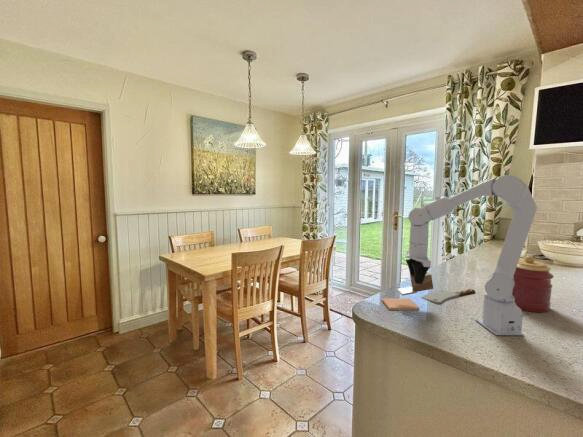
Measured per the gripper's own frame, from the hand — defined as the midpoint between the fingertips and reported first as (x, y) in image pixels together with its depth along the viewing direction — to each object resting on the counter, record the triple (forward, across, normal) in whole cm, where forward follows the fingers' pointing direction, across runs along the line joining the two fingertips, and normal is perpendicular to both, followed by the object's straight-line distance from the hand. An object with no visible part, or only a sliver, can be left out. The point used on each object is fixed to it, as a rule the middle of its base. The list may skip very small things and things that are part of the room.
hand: (416, 281), depth 99 cm
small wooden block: (+3, 0, -1) cm, 3 cm away
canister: (+9, -1, +39) cm, 40 cm away
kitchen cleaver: (+9, -10, +17) cm, 22 cm away
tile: (+8, 0, -5) cm, 10 cm away
